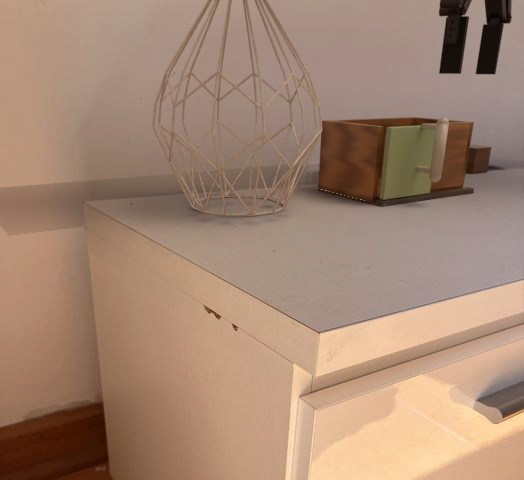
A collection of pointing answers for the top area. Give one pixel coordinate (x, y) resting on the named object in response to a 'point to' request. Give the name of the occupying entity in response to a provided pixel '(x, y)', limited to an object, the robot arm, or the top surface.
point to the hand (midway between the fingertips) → (468, 74)
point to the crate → (372, 153)
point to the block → (478, 159)
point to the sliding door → (413, 159)
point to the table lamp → (193, 157)
